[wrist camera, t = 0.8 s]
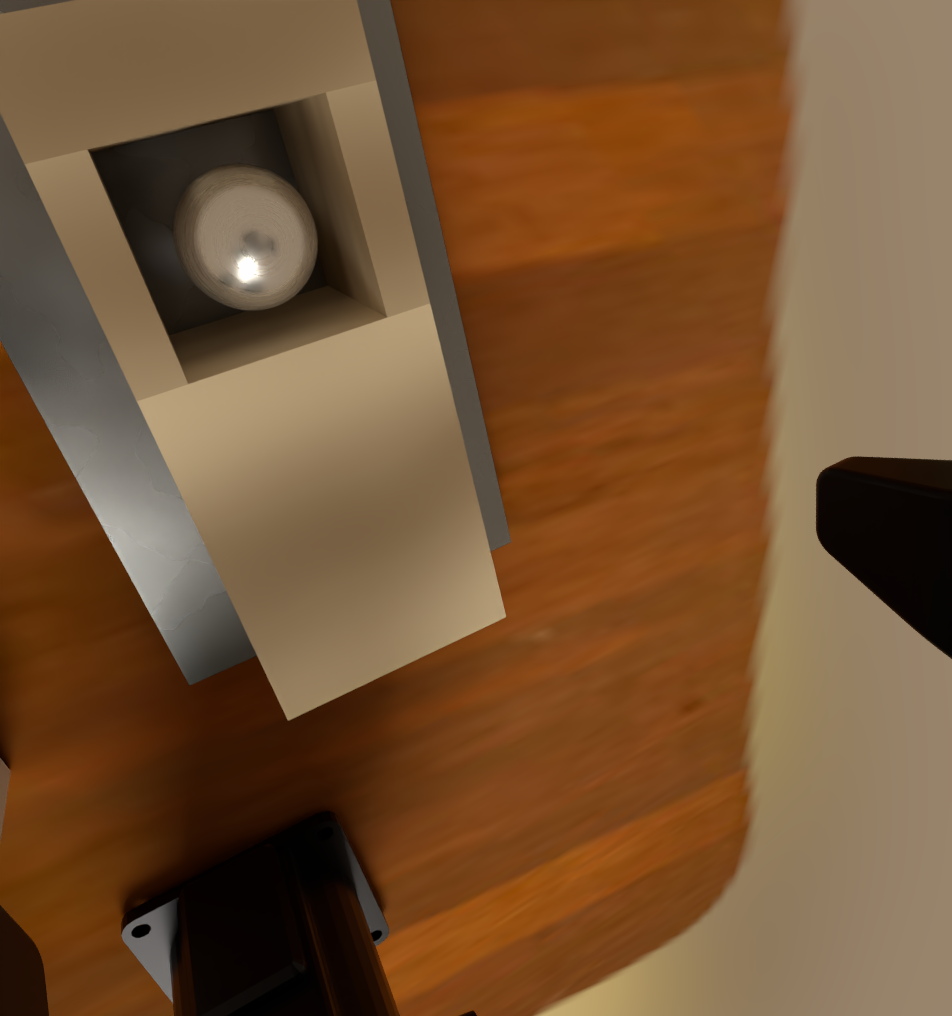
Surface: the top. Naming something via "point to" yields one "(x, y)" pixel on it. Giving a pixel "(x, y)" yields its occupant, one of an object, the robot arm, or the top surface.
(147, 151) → the stud base
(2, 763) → the tray
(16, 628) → the top surface
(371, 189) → the beige rectangular block
